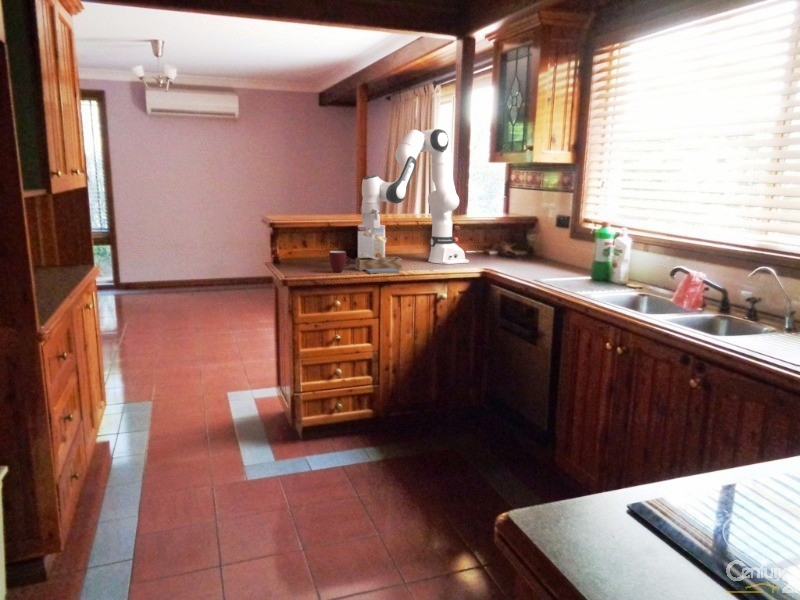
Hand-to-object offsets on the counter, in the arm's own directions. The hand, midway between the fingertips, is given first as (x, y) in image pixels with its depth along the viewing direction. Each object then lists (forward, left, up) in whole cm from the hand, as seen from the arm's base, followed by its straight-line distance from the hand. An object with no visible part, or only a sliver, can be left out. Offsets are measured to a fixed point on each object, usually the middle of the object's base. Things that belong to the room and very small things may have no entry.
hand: (371, 236), depth 307 cm
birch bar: (-2, 0, -1) cm, 2 cm away
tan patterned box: (-4, 0, -16) cm, 17 cm away
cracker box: (-5, -17, -17) cm, 24 cm away
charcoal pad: (-3, +9, -16) cm, 19 cm away
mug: (+17, +4, -17) cm, 24 cm away
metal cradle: (-4, 0, -12) cm, 13 cm away
